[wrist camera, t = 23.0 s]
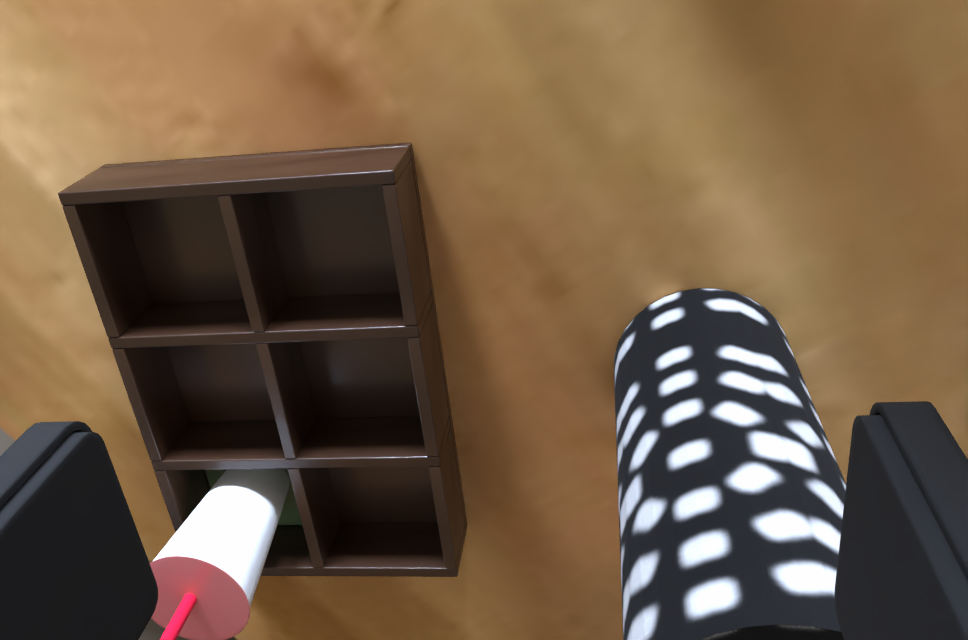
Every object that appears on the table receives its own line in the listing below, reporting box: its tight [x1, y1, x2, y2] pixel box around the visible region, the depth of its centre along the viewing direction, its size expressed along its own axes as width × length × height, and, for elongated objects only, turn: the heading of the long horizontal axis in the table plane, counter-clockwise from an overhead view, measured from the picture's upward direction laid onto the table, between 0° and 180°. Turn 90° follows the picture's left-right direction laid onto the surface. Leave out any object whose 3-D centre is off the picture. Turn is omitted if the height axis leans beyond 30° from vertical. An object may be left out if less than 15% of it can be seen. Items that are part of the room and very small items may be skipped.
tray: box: [58, 143, 467, 577], centre depth 42 cm, size 22×15×4 cm
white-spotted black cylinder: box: [614, 289, 846, 640], centre depth 33 cm, size 8×8×20 cm
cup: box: [150, 469, 289, 640], centre depth 42 cm, size 5×5×12 cm
